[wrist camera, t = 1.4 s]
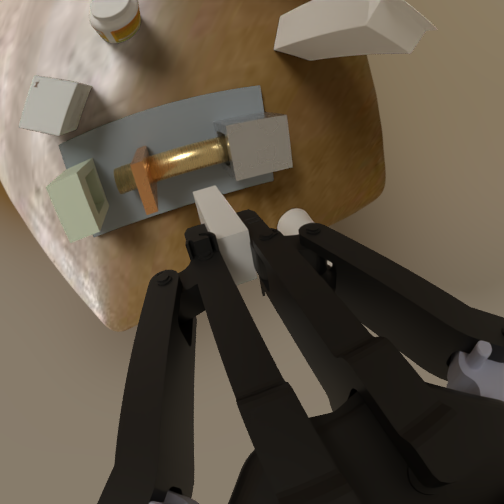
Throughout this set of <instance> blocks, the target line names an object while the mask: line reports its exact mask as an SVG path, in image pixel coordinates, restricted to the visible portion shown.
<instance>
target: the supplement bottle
mask: <svg viewBox="0 0 504 504" xmlns="http://www.w3.org/2000/svg"><path fill="white" fill-rule="evenodd" d="M89 20H90V23H91V25H92V27H93V28H94V29H95V30H96V31H97V33H98V34H99V35H100V36H101V37H102V39H104V40H105V41H107V42H109V43H121V42H124V41H126V40H128V39H130V38H131V37H132V36H134V35H135V34H136V32H137V31H138V29H139V27H140V24H141V17H140V11H139V4H138V0H92V2H91V5H90V13H89Z"/></svg>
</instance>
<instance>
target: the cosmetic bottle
mask: <svg viewBox="0 0 504 504" xmlns="http://www.w3.org/2000/svg"><path fill="white" fill-rule="evenodd" d="M307 223H314V222H313V220H312V219H311V218H310V216H309V215H308V214H307V212H306V211H304V210H302V209H298V208H296V209H291V210H289V211H287V212H286V213H285V214H283V216H282V217H281V218H280V220H279V222H278V226H277V230H278V231H280V232H281V233H282V234H283V235H284V236H288V235H297V234H299V231H298V230H299V228H300V227H301V226H303V225H305V224H307ZM327 264H328V265H330V266H332V263H331V262H330V261H328V260H327Z"/></svg>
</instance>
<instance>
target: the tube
mask: <svg viewBox="0 0 504 504" xmlns="http://www.w3.org/2000/svg"><path fill="white" fill-rule="evenodd" d="M228 161H230V159H229V154H228V149H227V144H226V139H225V135H224V136H220V137H216V138H212V139H208V140H204V141H200V142H196V143H192V144H189V145H185V146H181V147H178V148H175V149H171V150H168V151H165V152H161V153H158V154H155V155H152V156H149V153H148V150H147V146H143V147H140V148H137V150H136V152H135V155H134V157H133V160H132V162H131V163H129V164H126V165H123V166H120V167H118V168H115V169H114V171H113V172H114V179H115V183H116V186H117V189H118V191H119V193H120V194H124V193H127V192H130V191H132V190H135V189H138V191H139V194H140V197H141V200H142V203H143V206H144V209H145V212H146V215H149V214H152V213H155V212H158V195H157V182H159V181H162V180H165V179H168V178H171V177H175V176H178V175H181V174H184V173H188V172H191V171H195V170H198V169H202V168H205V167H209V166H213V165H216V164H220V163H224V162H228Z"/></svg>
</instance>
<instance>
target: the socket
mask: <svg viewBox="0 0 504 504" xmlns="http://www.w3.org/2000/svg"><path fill="white" fill-rule="evenodd" d="M46 189H47V191H48V194H49V196H50V199H51V201H52V204H53V206H54V208H55V211H56V213H57V215H58V218H59V220H60V222H61V224H62V227H63V229H64V231H65V233H66V235H67V237H68V239H69V241H70V243H73V242H75V241H77V240H80V239H82V238H85V237H87V236H90V235H93V234H95V233H98V232H100V230H101V227H102V224H103V221H104V219H105V216H106V213H107V211H108V208H109V204H108V201H107V199H106V196H105V193H104V190H103V188H102V185H101V182H100V179H99V176H98V173H97V170H96V167H95V164H94V161H93V158H91V159H88V160H86V161H84V162H82V163H79V164H77V165H75V166H73V167H70V168H68V169H66V170H65V171H64V172H63V173H62V174H60V175H59V176H58V177H57V178H56V179H55V180H53V181H52V182H51V183H50V184H49V185H48V186H47V187H46Z"/></svg>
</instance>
